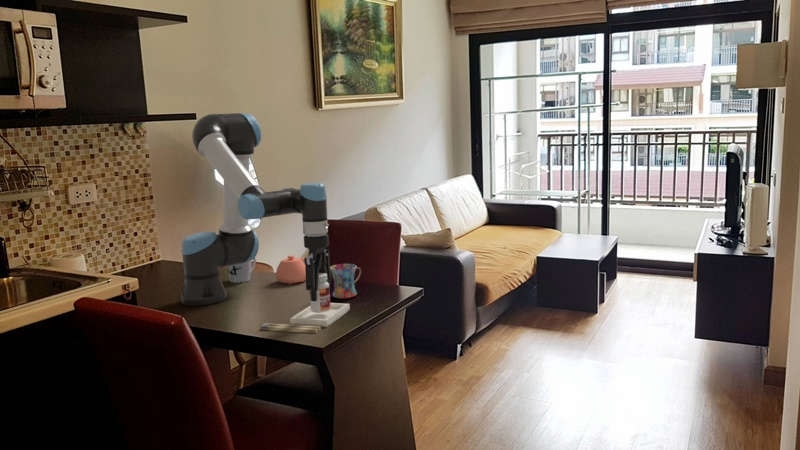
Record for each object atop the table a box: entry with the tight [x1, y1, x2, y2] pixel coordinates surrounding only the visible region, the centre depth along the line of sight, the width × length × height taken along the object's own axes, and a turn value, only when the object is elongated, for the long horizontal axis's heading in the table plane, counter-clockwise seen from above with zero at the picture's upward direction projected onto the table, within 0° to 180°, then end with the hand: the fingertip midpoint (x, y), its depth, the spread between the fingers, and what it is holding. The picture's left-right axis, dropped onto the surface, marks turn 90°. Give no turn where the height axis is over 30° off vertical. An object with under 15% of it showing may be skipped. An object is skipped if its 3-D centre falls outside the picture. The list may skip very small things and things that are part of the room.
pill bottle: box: [309, 273, 331, 313], centre depth 200 cm, size 6×6×11 cm
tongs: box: [259, 322, 322, 334], centre depth 190 cm, size 18×3×1 cm, turn 73°
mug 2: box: [330, 263, 362, 299], centre depth 224 cm, size 12×9×11 cm
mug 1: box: [226, 257, 257, 284], centre depth 255 cm, size 10×15×10 cm
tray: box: [289, 302, 351, 328], centre depth 201 cm, size 12×18×2 cm, turn 163°
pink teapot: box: [275, 255, 306, 286], centre depth 249 cm, size 12×14×10 cm
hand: (320, 307), depth 201 cm, fingers closed on pill bottle, 6 cm apart
